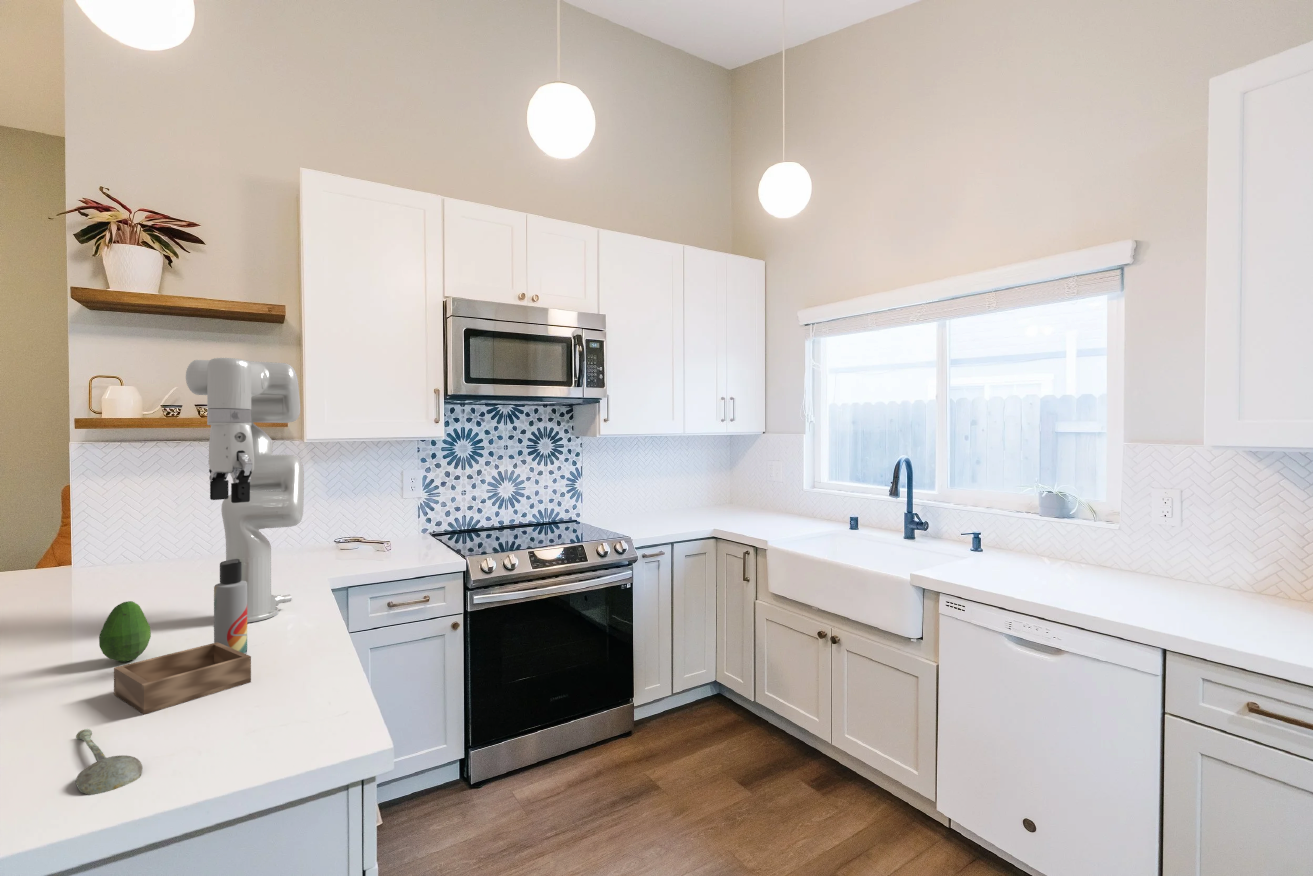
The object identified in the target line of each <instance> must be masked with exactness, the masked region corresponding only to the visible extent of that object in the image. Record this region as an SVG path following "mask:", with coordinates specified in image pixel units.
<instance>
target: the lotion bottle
mask: <svg viewBox="0 0 1313 876" xmlns="http://www.w3.org/2000/svg"><path fill="white" fill-rule="evenodd" d="M213 589H214V590H213V643H216V642H218V643H221V644H223V645H225V646H228V647H230V648H232V649H235V650H237V651H239V652H242V653H244V654H247V655H248V623H247V582H246V581H242V562H240V559H231V560H228V561H226V560H224V561H221V562H219V583H217V584H215V585H214V586H213Z"/></svg>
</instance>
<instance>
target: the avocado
mask: <svg viewBox="0 0 1313 876" xmlns="http://www.w3.org/2000/svg"><path fill="white" fill-rule="evenodd" d="M151 633H152V632H151V626H150V624H149V621H148V620H147V617H146V615H145V613H144V612H143V610H142V608H141V606H140V605H139V604H138V603H136V602H135V601H134V600H133V601H132V600H130V601H129V600H128V601H123V602H121V603H119V604H117V605H116V606H115V607H114V608H113V609H112V610H111V612H109V614H108V616H107V618H106V619H105V622H104V623H103V626H102V629H101V631H100V632H99V635H98V636H99V637H98V642H99V644H98V645H99V648H100V650H101V653H102V654H103V655H104V656H105V657H106V658H108V659H110V660H112V661H117V662H130V661H132V660H133V661H134V660H136V659H137V658H139V656H141V655H142V654H143V652H145V650H146V648H148V646H149V642H150V640H151V637H152V636H151V635H152V634H151Z"/></svg>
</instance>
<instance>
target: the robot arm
mask: <svg viewBox="0 0 1313 876" xmlns="http://www.w3.org/2000/svg"><path fill="white" fill-rule="evenodd" d="M185 381H186V386H187V388H188V390H189V391H190V392H191V393H192V394H193V395H197V396H206V397H207V399H206V403H207V405H206V406H207V407H206V409H207V410H206V412H207V414H206V415H207V418H206V419H207V424H206V425H207V426H210V430H209V431H210V432H209V442H208V467H209V469H208V472H209V494H210V495H209V499H210V500H211V501H220V500H223V501H222V503H221V510H220V511H221V517H222V522H223V528H224V536H225V561H228V560H231V559H240V562H242V581H246V582H247V624H248V623H253V622H259V621H263V620H267V619H269V618H272V617H275V616H277V614H278V613H279V607H277V606H279V605H280V604H286V603H291V602H292V601H293V599H292V595H291V594H285V595H281V594H280V595H274V594H272V546H271V543H270V541H269V539H268V538H267V537H266V536H265V535H264V534H263V533H262V532H261V531H260V530H265V529H276V528H277V529H278V528H279V529H280V528H281V529H282V528H289V527H290V528H291V527H295V526H298V525H299V524H300V523H301V522H302V519H303V516H304V499H305V498H304V492H305V491H304V489H305V473H304V472H305V470H304V465H303V462H302V459H301V458H300V457H298V456H297V455H294V454H273V447H274V442H273V439H272V438H271V437H270V435H268V434H267V432H265V431H264V430H263V429H262V428H260V427H259V426H257V424H255V423H271V424H272V423H277V424H278V423H279V424H280V423H281V424H282V423H283V424H289V423H295V422H296V421H297V420H298V419H299V417H300V415H301V398H300V387H299V379H298V375H297V372H296V371H295V368H294V367H293V366H292V365H290V364H289V363H287V362H286V363H285V362H269V361H253V360H245V359H242V358H236V357H235V358H234V357H233V358H232V357H216V358H215V357H214V358H211V359H195V360H192V361H191V362H190V363H189V364H188V366H187V368H186V370H185ZM229 474H230V476H231V479H232V482H231V483H230V485H231V486H230V494H229V480H228V477H229Z"/></svg>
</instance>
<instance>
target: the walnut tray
mask: <svg viewBox="0 0 1313 876" xmlns="http://www.w3.org/2000/svg"><path fill="white" fill-rule="evenodd" d="M249 683H252V656H251V655H249V654H248V653H247V654H244V653H242V652H239V651H237V650H235V649H232V648H230V647H228V646H225V645H223V644H221V643H218V642H216V643H214V642H213V643H209V644H205V645H204V644H203V645H201V646H200V645H199V646H196V647H193V648H188V649H184V650H180V651H176V652H172V653H171V652H170V653H168V654H164V655H159V656H156V657H151V658H148V659H147V658H146V659H144V660H139V661H136V662H132V663H127V664H124V665H119V666H115V667H113V695H114V696H115V697H117V698H118V699H120V700H121V701H123V702H124V703H126V704H127V705H129V706H130V707H131V708H133V709H134V710H137V711H138V712H140V713H141V714H142V715H147V714H150V713H154V712H157V711H161V710H164V709H166V708H167V709H168V708H170V707H174V706H177V705H181V704H184V703H187V702H189V701H193V700H197V699H200V698H203V697H207V696H209V695H213V694H217V693H219V692H222V691H226V690H230V689H233V688H236V687H240V686H242V685H246V684H249Z"/></svg>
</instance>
